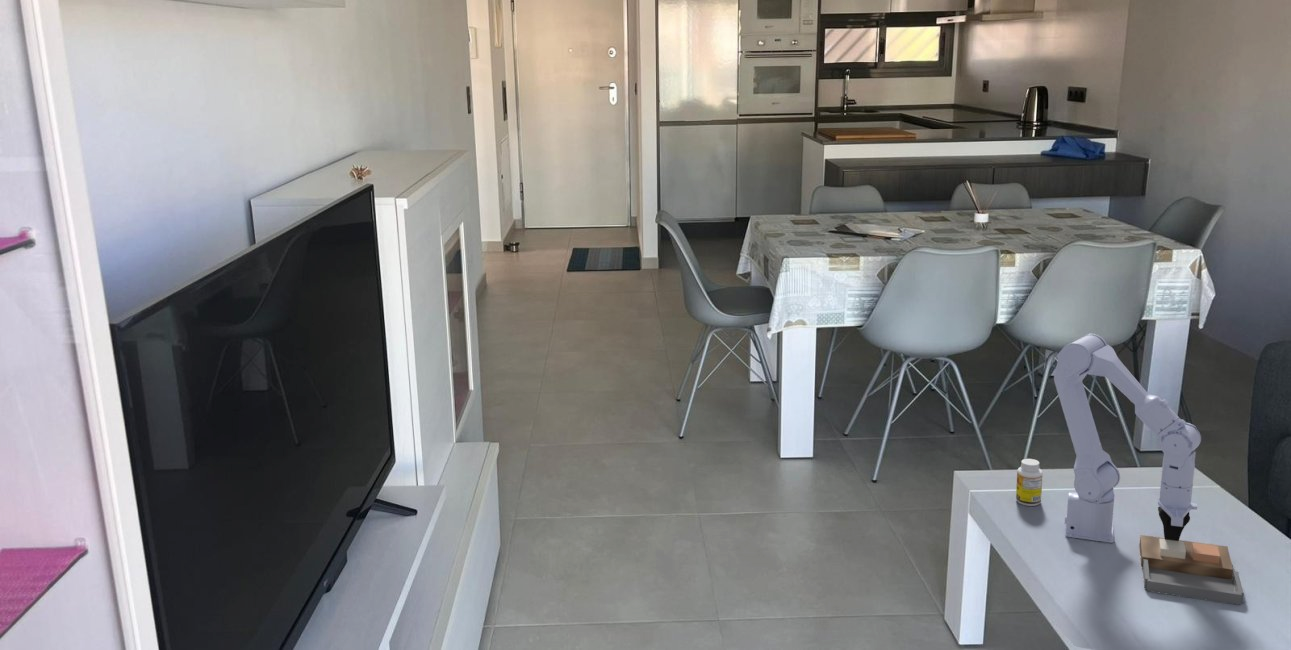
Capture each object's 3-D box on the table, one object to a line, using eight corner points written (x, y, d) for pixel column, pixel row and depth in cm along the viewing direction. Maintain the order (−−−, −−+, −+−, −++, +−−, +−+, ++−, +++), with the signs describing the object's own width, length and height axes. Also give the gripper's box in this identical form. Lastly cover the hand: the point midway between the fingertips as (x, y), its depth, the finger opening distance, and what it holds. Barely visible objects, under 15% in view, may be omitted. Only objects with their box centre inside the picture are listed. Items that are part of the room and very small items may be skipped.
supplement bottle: (1018, 495, 233) (1020, 455, 230) (1042, 499, 230) (1045, 459, 227) (1013, 504, 228) (1015, 464, 225) (1038, 508, 225) (1040, 468, 222)
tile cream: (1159, 555, 197) (1160, 548, 197) (1158, 545, 201) (1159, 538, 201) (1185, 559, 195) (1185, 551, 195) (1183, 548, 199) (1183, 541, 199)
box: (1144, 590, 189) (1145, 580, 189) (1142, 568, 197) (1143, 558, 197) (1242, 605, 183) (1244, 595, 182) (1236, 582, 190) (1238, 572, 190)
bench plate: (1141, 567, 198) (1142, 556, 197) (1139, 545, 206) (1140, 534, 206) (1232, 580, 191) (1233, 569, 190) (1226, 557, 200) (1227, 546, 199)
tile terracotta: (1193, 560, 195) (1194, 552, 194) (1191, 549, 199) (1192, 542, 198) (1219, 563, 193) (1220, 556, 192) (1216, 553, 197) (1217, 546, 196)
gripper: (1202, 499, 189) (1196, 562, 193) (1195, 471, 202) (1189, 530, 205) (1162, 495, 192) (1156, 556, 196) (1157, 467, 205) (1152, 525, 208)
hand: (1171, 542), depth 201 cm, fingers closed
